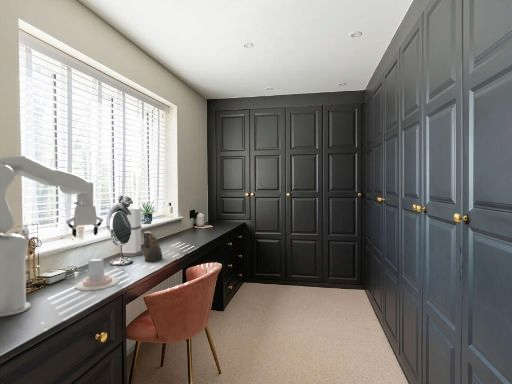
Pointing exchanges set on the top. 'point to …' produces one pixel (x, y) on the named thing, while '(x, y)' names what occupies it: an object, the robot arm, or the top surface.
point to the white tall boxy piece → (134, 234)
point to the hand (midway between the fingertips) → (85, 235)
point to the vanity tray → (80, 287)
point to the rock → (151, 248)
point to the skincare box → (96, 270)
